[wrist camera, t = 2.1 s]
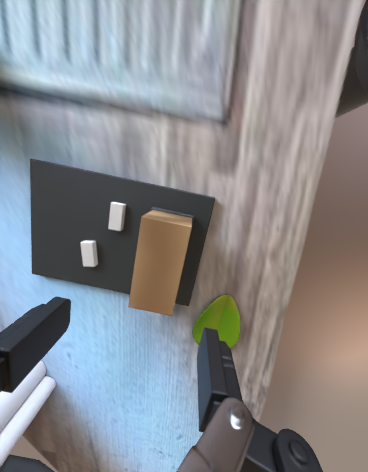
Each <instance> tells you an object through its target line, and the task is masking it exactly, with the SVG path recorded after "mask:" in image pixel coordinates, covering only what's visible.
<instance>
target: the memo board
mask: <svg viewBox="0 0 368 472" xmlns="http://www.w3.org/2000/svg"><path fill="white" fill-rule="evenodd" d="M30 177H31V241H32V274H36V275H41V276H46V277H51V278H55V279H60V280H65V281H70V282H75V283H80V284H84V285H89V286H94V287H99V288H104V289H109V290H113V291H118V292H123V293H128V294H130V292H131V286H132V279H133V272H134V265H135V258H136V251H137V244H138V237H139V230H140V223H141V217H142V216H143V215H145V214H147V213H148V212H150V211H151V208H152V207H157V208H162V209H167V210H172V211H176V212H181V213H186V214H191V215H194V220H193V224H192V229H191V233H190V238H189V242H188V247H187V251H186V256H185V261H184V265H183V270H182V274H181V279H180V283H179V288H178V292H177V297H176V301H175V303H176V304H181V305H186V306H189V303H190V299H191V295H192V291H193V287H194V283H195V279H196V275H197V271H198V267H199V263H200V259H201V254H202V250H203V246H204V242H205V238H206V234H207V230H208V226H209V222H210V218H211V214H212V210H213V206H214V202H215V198H214V197H210V196H206V195H201V194H196V193H192V192H187V191H182V190H177V189H173V188H168V187H163V186H159V185H154V184H149V183H144V182H140V181H135V180H130V179H126V178H121V177H116V176H112V175H107V174H102V173H97V172H93V171H88V170H83V169H79V168H74V167H69V166H64V165H60V164H55V163H50V162H46V161H41V160H36V159H30ZM111 202H118V203H122V204H126V210H125V218H124V227H123V230H121V231H117V230H112V229H108V226H109V216H110V206H111ZM85 240H88V241H96V247H97V257H98V264H97V265H96V266H95V267H89V266H83V260H82V252H81V244H80V243H81V242H83V241H85Z"/></svg>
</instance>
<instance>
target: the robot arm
mask: <svg viewBox="0 0 368 472" xmlns="http://www.w3.org/2000/svg"><path fill="white" fill-rule="evenodd" d="M70 310H71V301H70V299H65V298H60V297H54V298H53V299H52V300H50V301H49V302H48V303H47V304H41V305H39V306H37V307H35V308H32V309H31V310H29V311H28V312H27V313H25V314H24V315H23V316H22V317H20V318H19V319H17V320H16V321H15V322H14V323H12V324H11V325H10V326H8V327H7V328H6V329H4V330H3V331H2V332H0V392H1V391H3V392H8V393H12V392H13V391H14V390H15V389H16V388H17V387H18V386H19V384H20V383H21V382H22V381H23V380H24V379H25V378H26V376H27V375H28V374H29V373H30V372H31V371H32V370H33V368H34V367H35V366H36V365H37V364H38V363H39V362H40V360H41V359H42V358H43V357H44V356H45V355H46V354H47V352H48V351H49V350H50V349H51V348H52V347H53V346H54V344H55V343H56V342H57V341H58V340H59V339H60V338H61V336H62V335H63V334H64V333H65V332H66V330H67V328H68V326H69V323H70ZM197 373H198V409H199V431H200V432H203V434H202V436H201V437H200V439H199V441H198V442H197V444H196V445H195V446H193V447H192V448H191V449H190V450H189V452H188V454H187V455H186V457H185V458H184V460H183V462H182V463H181V465H180V466H179V468H178V470H177V471H176V472H323V471H322V469H321V467H320V464H319V461H318V459H317V457H316V455H315V453H314V451H313V449H312V448H311V447H310V445H309V444H308V443H307V442H306V441H305V439H304V438H303V437H301V436H300V435H299V434H297V433H296V432H294V431H292V430H290V429H282V430H281V431H280V432H279V433H278V434H276V433H275V432H273V431H271V430H270V429H268V428H266V427H265V426H263V425H261V424H259V423H258V422H257V421H256V420H255V419H254V418H253V417H252V414H251V412H250V411H249V409H248V408H247V407H246V405H245V404H244V403H243V400H242V396H241V392H240V387H239V383H238V379H237V375H236V370H235V366H234V362H233V358H232V353H231V350H230V348H229V346H228V345H227V343H226V342H225V341H220V340H219V335H218V331H217V330H215V329H210V328H206V327H205V328H204V330H203V333H202V337H201V341H200V344H199V348H198V354H197ZM0 472H54V471H53V470H51V469H50V468H49V467H48V466H46V465H45V464H43V463H42V462H41V461H39V460H36V459H30V458H25V457H20V456H14V455H9V456H8V457H7V459H6V460H5V462H4V463H3V465H2V466H1V467H0Z"/></svg>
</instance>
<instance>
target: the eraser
mask: <svg viewBox="0 0 368 472" xmlns="http://www.w3.org/2000/svg"><path fill="white" fill-rule="evenodd" d="M193 220H194V215H191V214H186V213H181V212H176V211H172V210H167V209H162V208H157V207H152V208H151V211H150V212H148V213H147V214H145V215H143V216H142V217H141V223H140V230H139V237H138V244H137V251H136V258H135V265H134V272H133V279H132V286H131V292H130V299H129V307H131V308H136V309H140V310H145V311H150V312H155V313H160V314H165V315H169V316H172V315H173V310H174V306H175V301H176V297H177V292H178V288H179V283H180V279H181V274H182V270H183V265H184V261H185V256H186V251H187V247H188V242H189V238H190V233H191V229H192V224H193Z"/></svg>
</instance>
